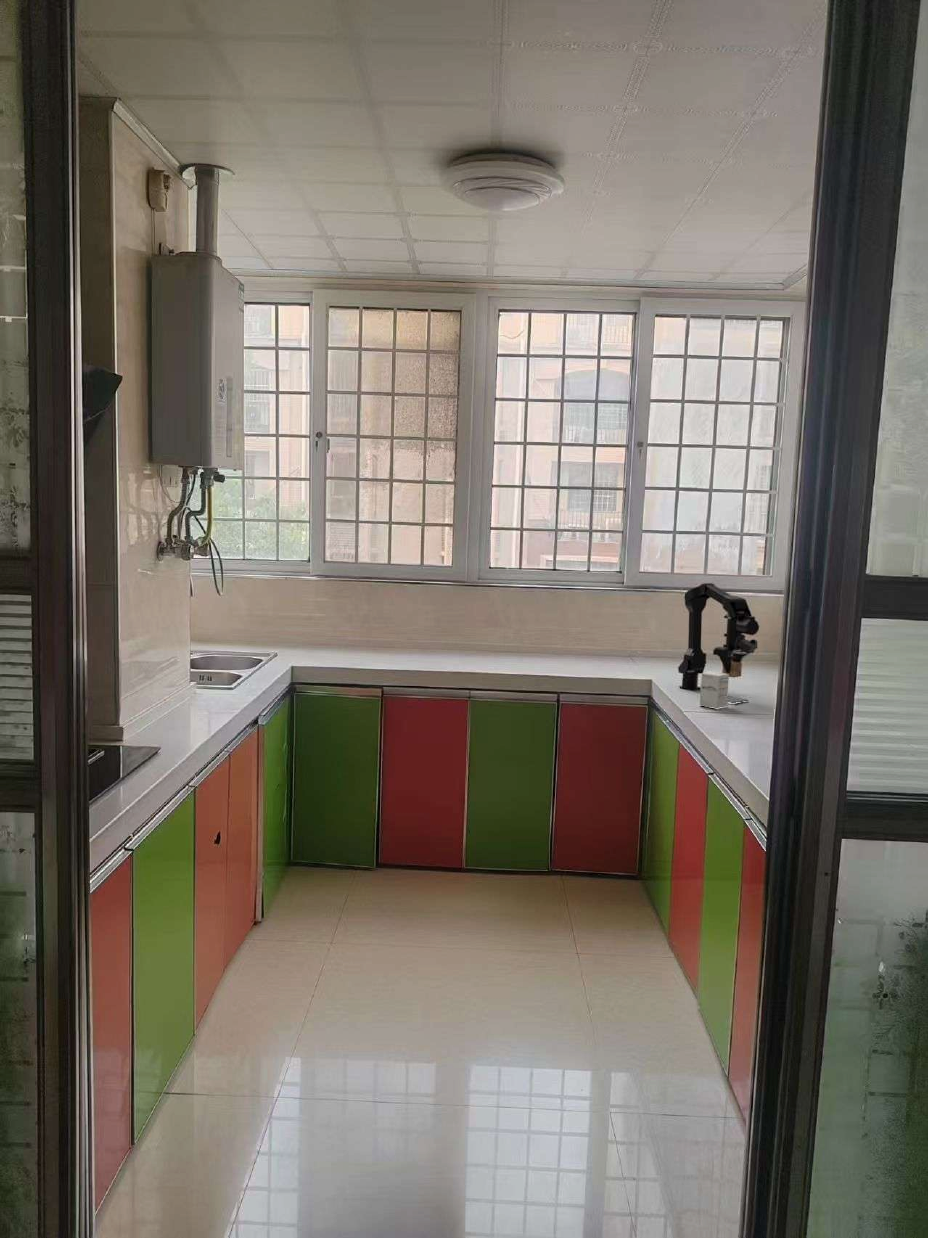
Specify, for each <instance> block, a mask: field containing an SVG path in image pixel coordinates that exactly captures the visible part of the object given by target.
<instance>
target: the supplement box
mask: <svg viewBox="0 0 928 1238" xmlns="http://www.w3.org/2000/svg"><path fill="white" fill-rule="evenodd" d="M700 678H701V682H700V687H701V688H700V692H699V693H700V695H699V706H700V705H701V706H706V707H714V708H719V707H724V706H726V707H727V706H728V704H727V696H728V692H729V678H730V677H729V674H724V673H722V672H718V671H711V670H709V671H705V672H703V673H702V674H701V677H700ZM706 707H705V708H706Z"/></svg>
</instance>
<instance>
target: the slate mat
mask: <svg viewBox="0 0 928 1238" xmlns="http://www.w3.org/2000/svg"><path fill="white" fill-rule="evenodd" d="M743 701H748V702H749V699H747V698H742V697H736V696H730V695H727V702H731V703H736V702H743Z"/></svg>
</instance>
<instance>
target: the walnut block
mask: <svg viewBox="0 0 928 1238" xmlns="http://www.w3.org/2000/svg"><path fill="white" fill-rule="evenodd" d="M742 666H743V663H742V662H741V663H738V662H731V668H730V673H729V678H734V679H735V678H738V677H742V668H743V667H742ZM721 673H724V674H728V673H726V671H725V668H724V666H723V665H722V672H721Z"/></svg>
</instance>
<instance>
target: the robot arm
mask: <svg viewBox="0 0 928 1238" xmlns="http://www.w3.org/2000/svg"><path fill="white" fill-rule="evenodd" d="M710 598H711V599H713V600H714V601H716V602H717V603H719V604H721V606H722V609H723V611H725V612H726V614H725V615H724V616H723V618H724V619H726V620H727V621H726V633H724V634H723V637H726V638H725V644H723V645H722V646H715V647H714V648H713V649H712V655H714V656H717V657H718V658H719V660H720V661H721V663H722V667H723V666H724V668H725V671H726V673H728V674H729V673H730V668H731V662H738V663H742V661H743V659H744V658H745V657H747V656H748V655H750V654H754V652H755V650H757V649H758V648H759V647H758V640H756V639H751V640H749V639H746V635H748V636H755V635H756V634H757V633H758V632H759V629H760V625H759V622H758V621H757V620H756V616H753V615H752V612H751V610H750V608H749V606H748V602H747V600H746V599H745V598H743V597H740V596H736V595H731V594H729V593H728V592H726V591H724V590H723V589H722V588H719V587H718V586H716V585H715V584H714V583H713V582H712V583H711V582H707V583H706V582H705V583H704V582H703V583H701V584H700V585H698V586H695V587H693V588H691V589H687V591H686V592H685V593H684V597H683V599H684V606H685V608H686V609H687V611H688V637H687V638H688V641H687V643H688V644H687V645H688V647H687V649H686V651H685V653H684V654H683V660H682V662H681V663H680V665H678V666H677V669H678V673H679V674H682V678H681V679H682V680H681V685H679V686H678V688H679V687H680V688H679V689H684V688H687V689H686V690H689V689H691V690H690V691H694V690H693V689H695V690H699V689H698V688H700V689H701V686H698V685H699V674H700V675H702V673H704V670H705V668H706V664H707V653H705V652H704V651H703V649H702V628H703V627H702V624H703V623H702V621H703V620H702V619H703V616H702V615H703V611H704V610H705V608H706V606H707V601H708V600H709V599H710Z"/></svg>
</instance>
